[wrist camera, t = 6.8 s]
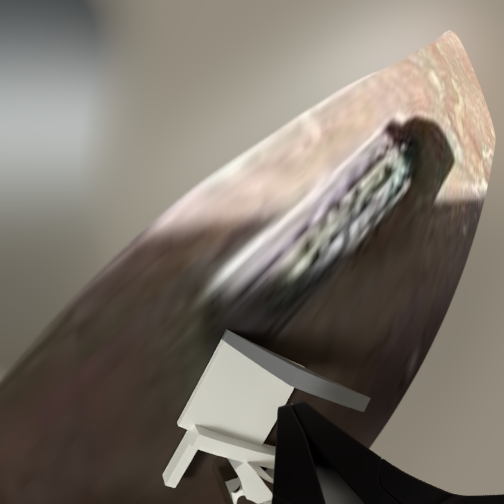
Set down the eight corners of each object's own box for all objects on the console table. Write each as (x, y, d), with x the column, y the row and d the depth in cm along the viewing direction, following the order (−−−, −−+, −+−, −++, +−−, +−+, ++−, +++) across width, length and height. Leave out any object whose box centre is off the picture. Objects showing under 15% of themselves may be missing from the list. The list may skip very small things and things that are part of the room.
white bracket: (256, 496, 22) (312, 566, 12) (150, 470, 19) (173, 563, 9) (327, 376, 25) (416, 414, 15) (226, 329, 22) (298, 368, 12)
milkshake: (190, 450, 20) (231, 536, 11) (255, 437, 22) (322, 506, 13) (198, 490, 20) (240, 573, 11) (259, 477, 22) (318, 546, 13)
